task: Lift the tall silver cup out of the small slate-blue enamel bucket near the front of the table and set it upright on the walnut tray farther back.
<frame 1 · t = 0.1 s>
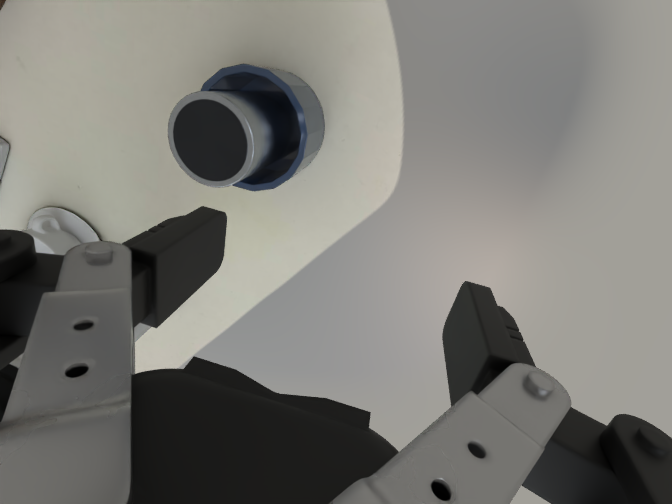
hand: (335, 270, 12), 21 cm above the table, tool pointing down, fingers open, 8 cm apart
teacup: (72, 247, 41), on the table
bucket: (276, 124, 31), on the table
travel mug: (160, 281, 41), on the table
silver cup: (274, 125, 31), point 1 cm above the table, touching bucket
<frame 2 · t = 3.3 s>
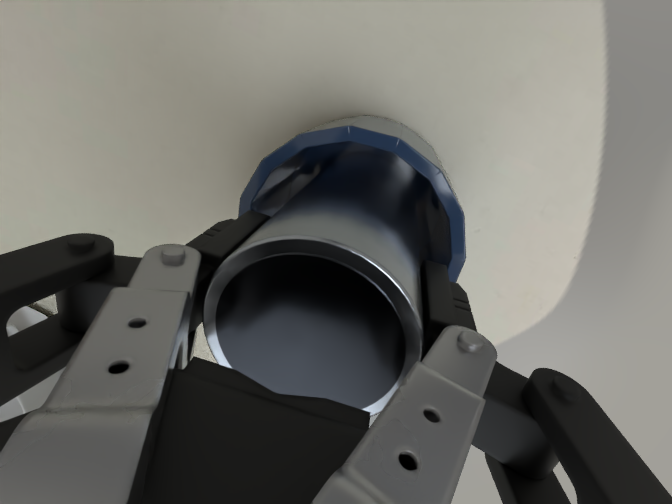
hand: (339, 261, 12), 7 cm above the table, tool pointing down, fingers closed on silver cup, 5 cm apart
teacup: (42, 350, 29), on the table
bucket: (363, 203, 19), on the table
silver cup: (362, 206, 18), point 1 cm above the table, touching bucket, gripper
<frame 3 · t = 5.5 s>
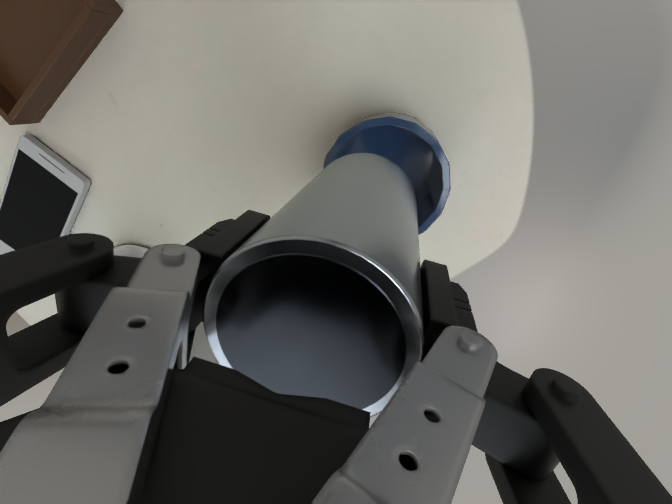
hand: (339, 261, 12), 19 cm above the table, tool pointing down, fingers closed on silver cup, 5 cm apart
teacup: (146, 284, 40), on the table
bucket: (388, 168, 30), on the table
tray: (27, 12, 30), on the table
travel mug: (239, 320, 39), on the table
smartphone: (41, 213, 38), on the table
silver cup: (362, 206, 18), point 13 cm above the table, touching gripper
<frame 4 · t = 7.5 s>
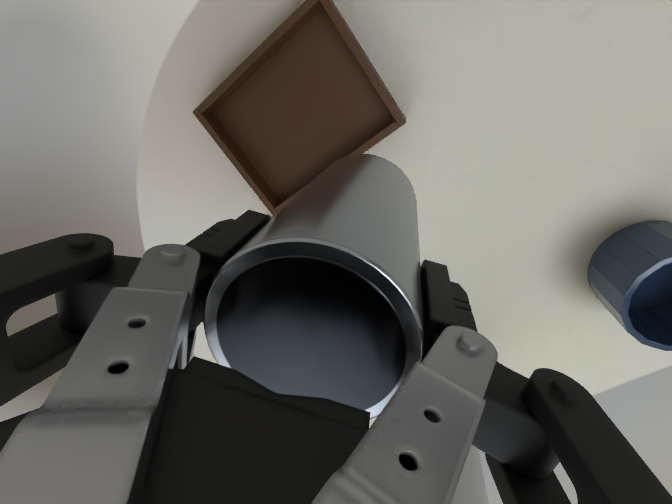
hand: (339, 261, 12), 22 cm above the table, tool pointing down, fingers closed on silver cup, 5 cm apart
bucket: (643, 267, 32), on the table
tray: (303, 114, 32), on the table
travel mug: (439, 385, 42), on the table
silver cup: (362, 207, 18), point 15 cm above the table, touching gripper
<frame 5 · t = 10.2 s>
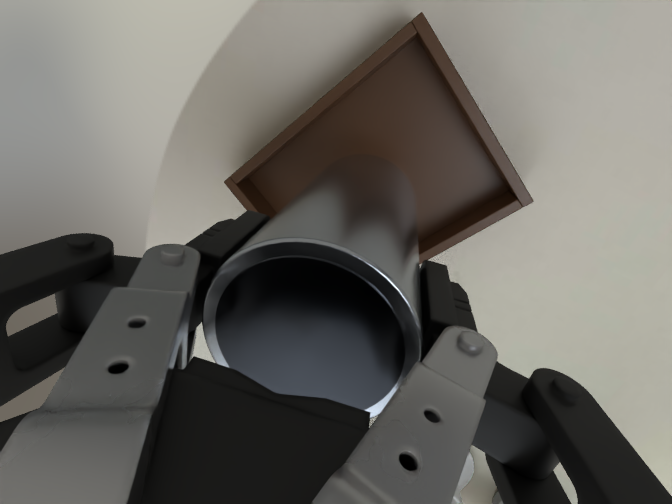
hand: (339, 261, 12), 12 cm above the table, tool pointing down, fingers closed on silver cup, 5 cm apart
teacup: (415, 455, 33), on the table
tray: (372, 180, 23), on the table
silver cup: (361, 207, 18), point 6 cm above the table, touching gripper
when the fingers open (7 cm above the table, at t = 12.0 s): silver cup stays where it is, resting on tray.
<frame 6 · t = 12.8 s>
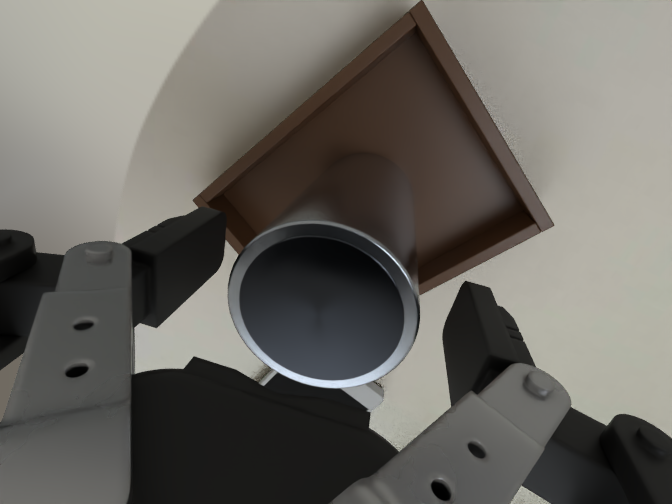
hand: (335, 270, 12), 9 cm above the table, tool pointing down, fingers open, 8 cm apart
tray: (364, 197, 20), on the table
smartphone: (288, 413, 29), on the table
silver cup: (363, 202, 20), point 1 cm above the table, touching tray
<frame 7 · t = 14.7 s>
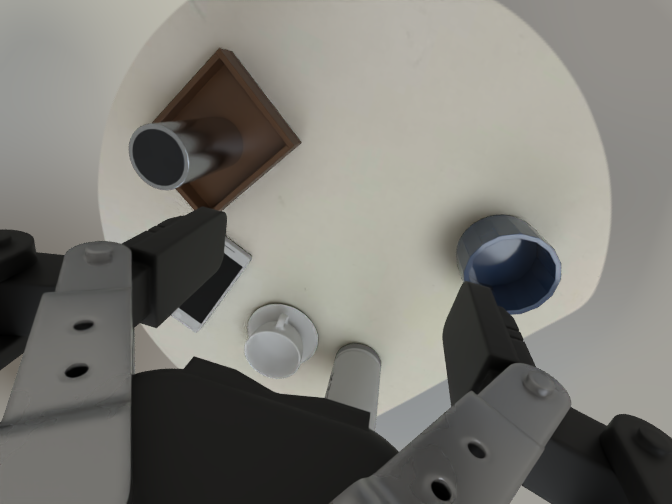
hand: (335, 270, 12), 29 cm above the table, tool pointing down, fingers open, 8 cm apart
teacup: (283, 332, 50), on the table
bucket: (496, 251, 40), on the table
tray: (223, 140, 40), on the table
travel mug: (359, 360, 49), on the table
smartphone: (203, 279, 48), on the table
silver cup: (220, 142, 40), point 1 cm above the table, touching tray
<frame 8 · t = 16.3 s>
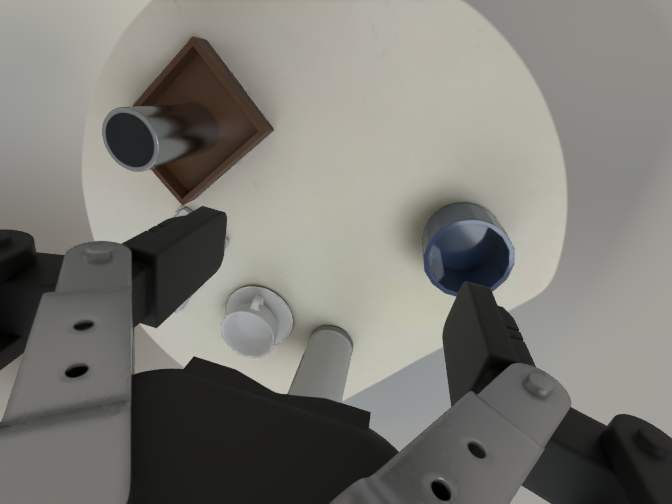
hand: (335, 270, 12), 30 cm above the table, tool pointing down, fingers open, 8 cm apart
teacup: (260, 314, 52), on the table
bucket: (460, 238, 42), on the table
tray: (200, 127, 42), on the table
travel mug: (332, 342, 51), on the table
silver cup: (196, 128, 41), point 1 cm above the table, touching tray
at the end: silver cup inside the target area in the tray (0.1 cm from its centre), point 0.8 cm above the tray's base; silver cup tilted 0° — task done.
